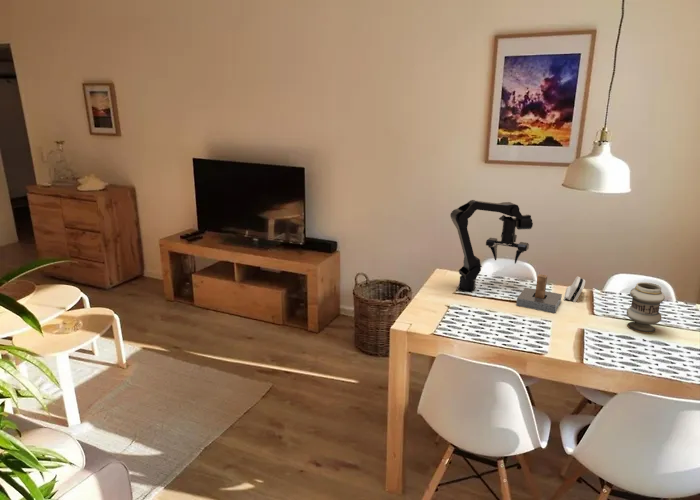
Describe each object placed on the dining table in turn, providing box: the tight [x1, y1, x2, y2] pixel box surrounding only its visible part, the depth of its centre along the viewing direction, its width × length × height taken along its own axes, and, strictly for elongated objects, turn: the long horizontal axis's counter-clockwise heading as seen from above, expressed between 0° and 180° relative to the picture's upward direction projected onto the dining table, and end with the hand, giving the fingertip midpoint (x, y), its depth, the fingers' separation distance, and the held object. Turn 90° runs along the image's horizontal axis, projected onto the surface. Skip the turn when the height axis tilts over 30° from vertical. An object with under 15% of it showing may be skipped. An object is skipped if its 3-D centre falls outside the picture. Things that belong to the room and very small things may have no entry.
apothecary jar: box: [626, 281, 666, 334], centre depth 199 cm, size 12×12×18 cm
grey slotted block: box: [515, 287, 563, 314], centre depth 225 cm, size 16×16×4 cm
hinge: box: [563, 275, 586, 303], centre depth 234 cm, size 17×5×10 cm, turn 153°
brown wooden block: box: [535, 273, 548, 299], centre depth 224 cm, size 4×4×13 cm
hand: (505, 261), depth 241 cm, fingers open, 9 cm apart
